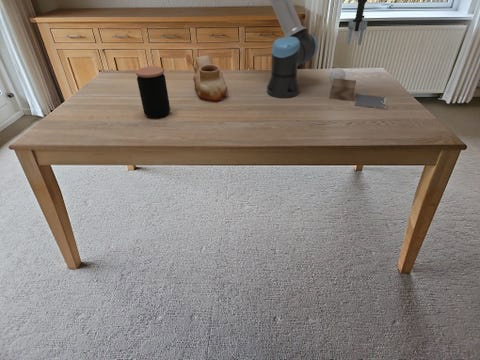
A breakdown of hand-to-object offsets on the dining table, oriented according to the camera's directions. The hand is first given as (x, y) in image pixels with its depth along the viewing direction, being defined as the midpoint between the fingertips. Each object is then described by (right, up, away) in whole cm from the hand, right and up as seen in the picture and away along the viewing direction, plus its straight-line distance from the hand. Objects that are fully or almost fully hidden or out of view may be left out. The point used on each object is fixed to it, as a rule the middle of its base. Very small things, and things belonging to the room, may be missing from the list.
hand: (355, 37), depth 126 cm
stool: (0, -2, +1) cm, 2 cm away
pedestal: (0, -20, +16) cm, 25 cm away
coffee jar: (-82, -31, +2) cm, 88 cm away
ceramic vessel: (-62, -17, +21) cm, 68 cm away
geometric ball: (+1, -10, +29) cm, 31 cm away
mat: (+11, -24, +10) cm, 28 cm away
